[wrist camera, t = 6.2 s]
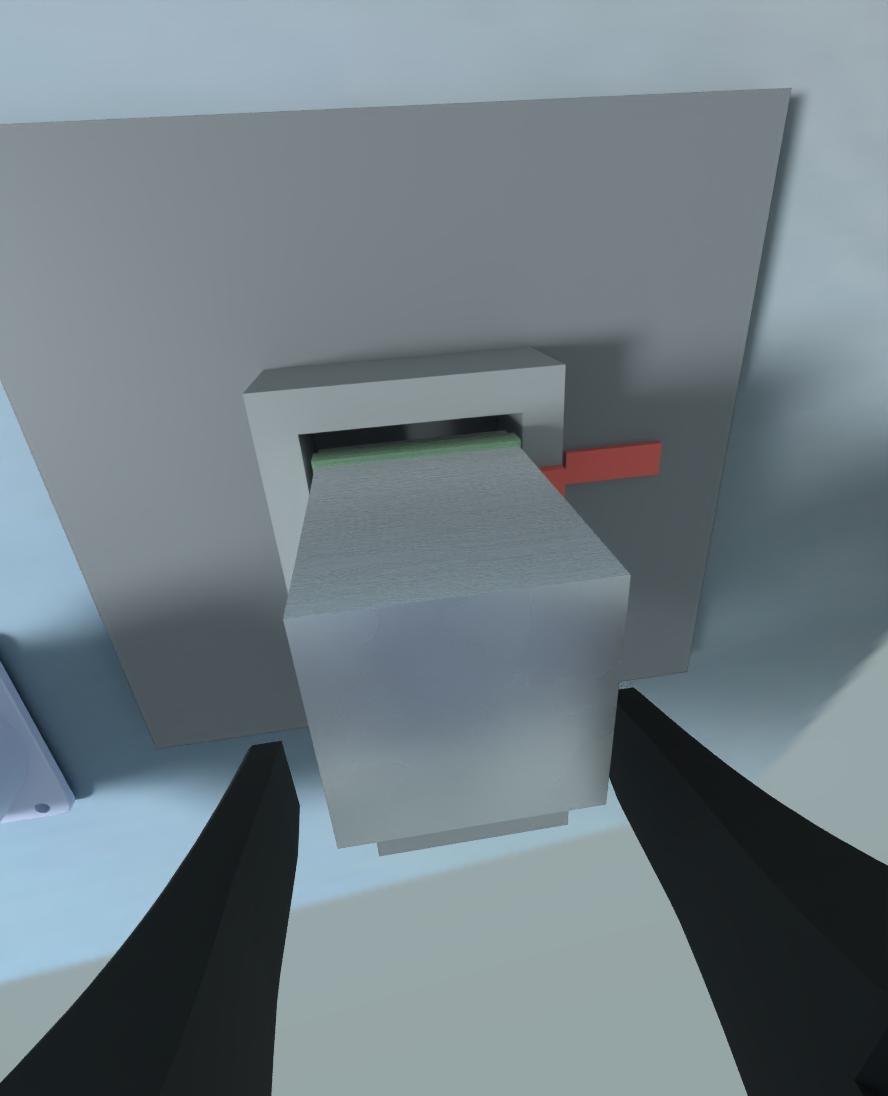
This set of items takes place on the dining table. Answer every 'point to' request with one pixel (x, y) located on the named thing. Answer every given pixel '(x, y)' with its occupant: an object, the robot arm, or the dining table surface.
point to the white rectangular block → (453, 642)
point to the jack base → (371, 346)
